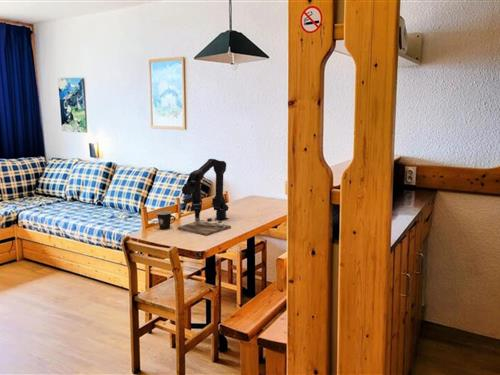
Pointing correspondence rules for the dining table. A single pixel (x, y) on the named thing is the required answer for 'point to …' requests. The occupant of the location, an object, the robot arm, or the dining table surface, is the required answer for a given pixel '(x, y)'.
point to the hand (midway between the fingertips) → (197, 216)
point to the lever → (209, 222)
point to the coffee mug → (164, 220)
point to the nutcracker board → (203, 228)
